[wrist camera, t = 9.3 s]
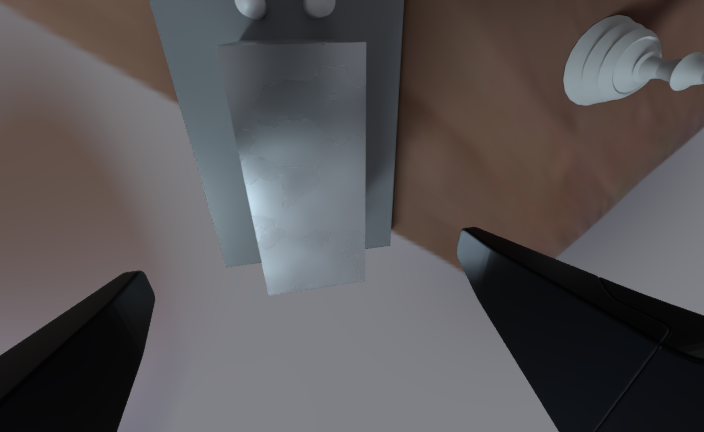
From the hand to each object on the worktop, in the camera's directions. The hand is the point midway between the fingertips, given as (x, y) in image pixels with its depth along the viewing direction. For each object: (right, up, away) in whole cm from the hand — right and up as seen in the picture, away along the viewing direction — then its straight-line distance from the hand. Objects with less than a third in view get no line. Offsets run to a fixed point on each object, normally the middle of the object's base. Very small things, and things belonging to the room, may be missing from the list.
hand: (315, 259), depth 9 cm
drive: (-2, +5, +8) cm, 10 cm away
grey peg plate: (-2, +6, +9) cm, 11 cm away
